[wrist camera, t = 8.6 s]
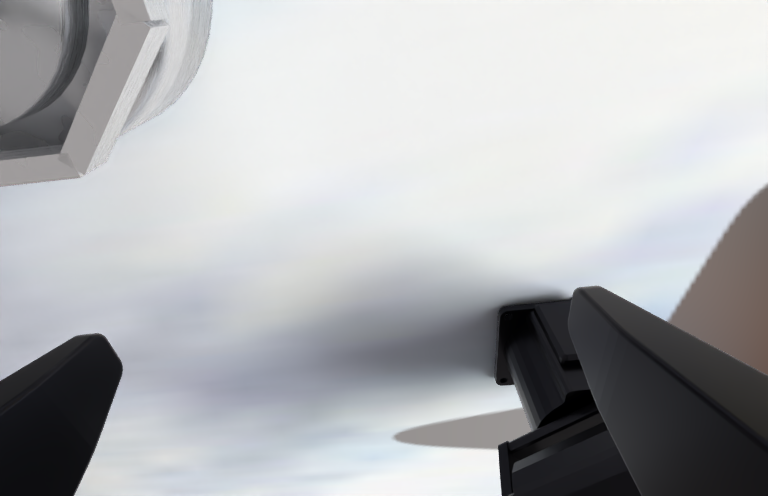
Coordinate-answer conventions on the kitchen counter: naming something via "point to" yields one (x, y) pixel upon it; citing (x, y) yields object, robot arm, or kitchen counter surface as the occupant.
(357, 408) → the kitchen counter surface
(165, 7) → the pot
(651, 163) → the kitchen counter surface
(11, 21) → the lid
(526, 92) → the kitchen counter surface
